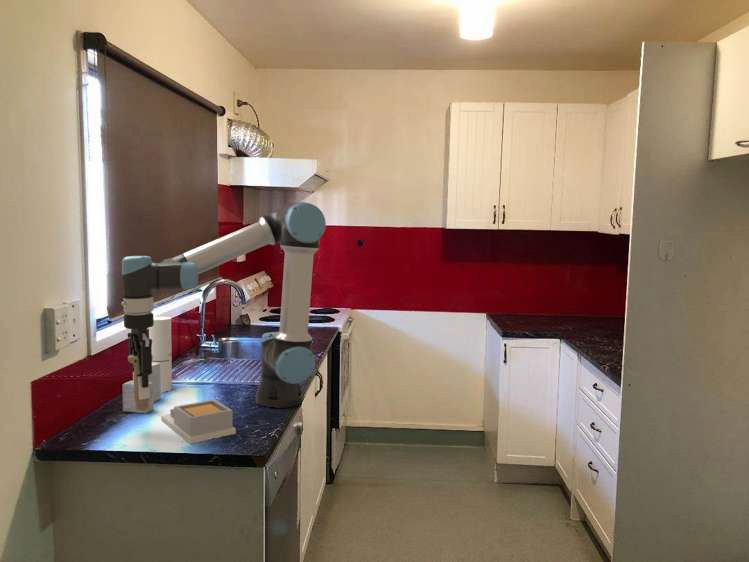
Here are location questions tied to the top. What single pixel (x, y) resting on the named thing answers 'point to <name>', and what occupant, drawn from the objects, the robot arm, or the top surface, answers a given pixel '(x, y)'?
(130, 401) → the medicine box
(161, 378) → the cylindrical container
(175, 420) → the switch panel
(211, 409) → the button
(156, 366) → the skincare box
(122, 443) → the top surface
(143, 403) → the handle
